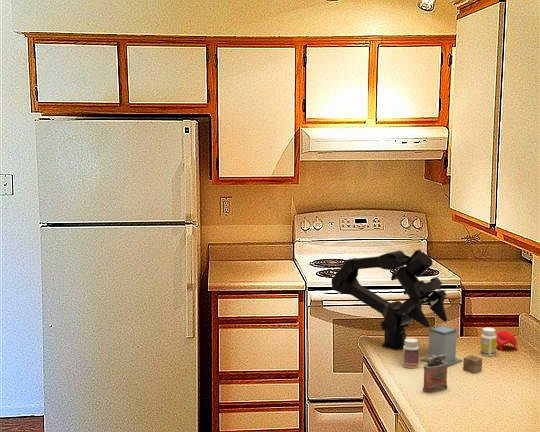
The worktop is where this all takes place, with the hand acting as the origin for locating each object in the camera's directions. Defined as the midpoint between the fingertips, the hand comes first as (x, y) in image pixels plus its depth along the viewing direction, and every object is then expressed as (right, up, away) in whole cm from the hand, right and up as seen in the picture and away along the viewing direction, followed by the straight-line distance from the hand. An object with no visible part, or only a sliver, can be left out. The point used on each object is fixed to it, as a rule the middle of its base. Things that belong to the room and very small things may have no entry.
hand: (437, 324), depth 224 cm
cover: (+1, -11, 0) cm, 11 cm away
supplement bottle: (+18, -11, +6) cm, 22 cm away
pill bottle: (-10, -13, -4) cm, 16 cm away
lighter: (-6, -15, -23) cm, 28 cm away
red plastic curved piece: (+26, -10, +12) cm, 30 cm away
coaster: (+1, -12, 0) cm, 12 cm away
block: (+9, -13, -8) cm, 18 cm away
